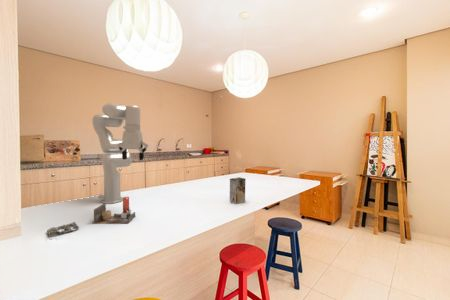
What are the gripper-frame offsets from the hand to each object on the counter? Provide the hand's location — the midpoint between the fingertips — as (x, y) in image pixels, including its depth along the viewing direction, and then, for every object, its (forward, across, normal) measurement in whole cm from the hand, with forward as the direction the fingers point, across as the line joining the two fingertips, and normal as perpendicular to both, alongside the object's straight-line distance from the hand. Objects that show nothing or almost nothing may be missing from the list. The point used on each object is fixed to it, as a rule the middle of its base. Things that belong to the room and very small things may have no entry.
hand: (132, 159), depth 118 cm
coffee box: (+31, +57, +31) cm, 72 cm away
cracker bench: (+30, -2, -14) cm, 33 cm away
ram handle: (+29, +4, -13) cm, 32 cm away
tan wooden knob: (+29, -6, -14) cm, 33 cm away
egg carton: (+31, -16, -29) cm, 45 cm away
